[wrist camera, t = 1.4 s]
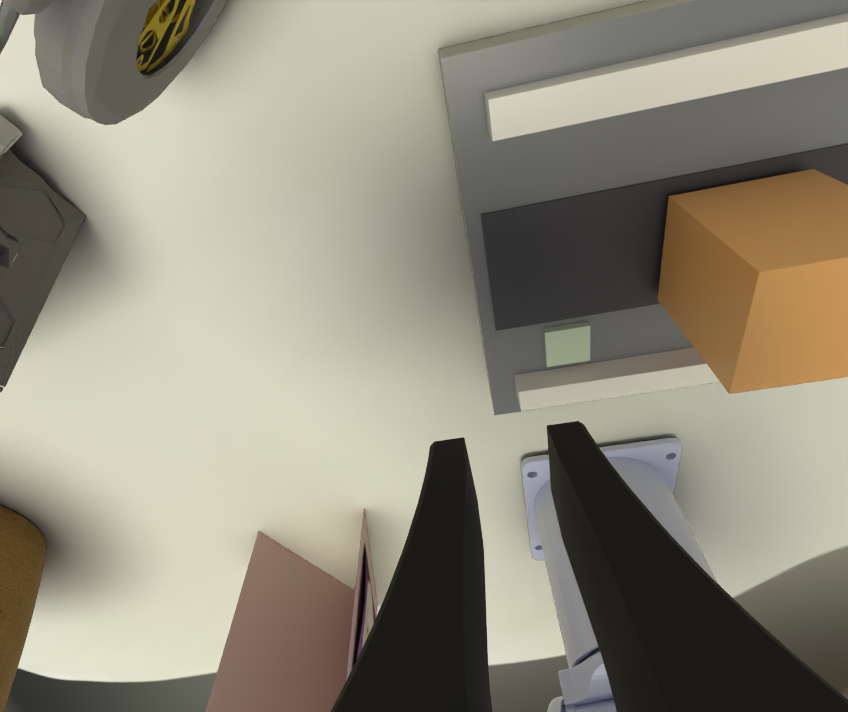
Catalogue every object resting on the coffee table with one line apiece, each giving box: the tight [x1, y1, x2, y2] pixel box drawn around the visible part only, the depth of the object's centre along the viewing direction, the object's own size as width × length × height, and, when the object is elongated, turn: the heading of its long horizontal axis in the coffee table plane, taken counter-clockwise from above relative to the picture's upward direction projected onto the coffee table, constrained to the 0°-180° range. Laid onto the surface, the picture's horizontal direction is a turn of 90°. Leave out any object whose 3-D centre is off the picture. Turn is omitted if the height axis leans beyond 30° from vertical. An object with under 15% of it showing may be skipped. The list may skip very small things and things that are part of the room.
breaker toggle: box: [657, 169, 848, 394], centre depth 13 cm, size 4×4×5 cm
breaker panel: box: [438, 0, 848, 415], centre depth 16 cm, size 13×16×3 cm
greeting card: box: [206, 509, 378, 712], centre depth 26 cm, size 11×7×15 cm, turn 0°
